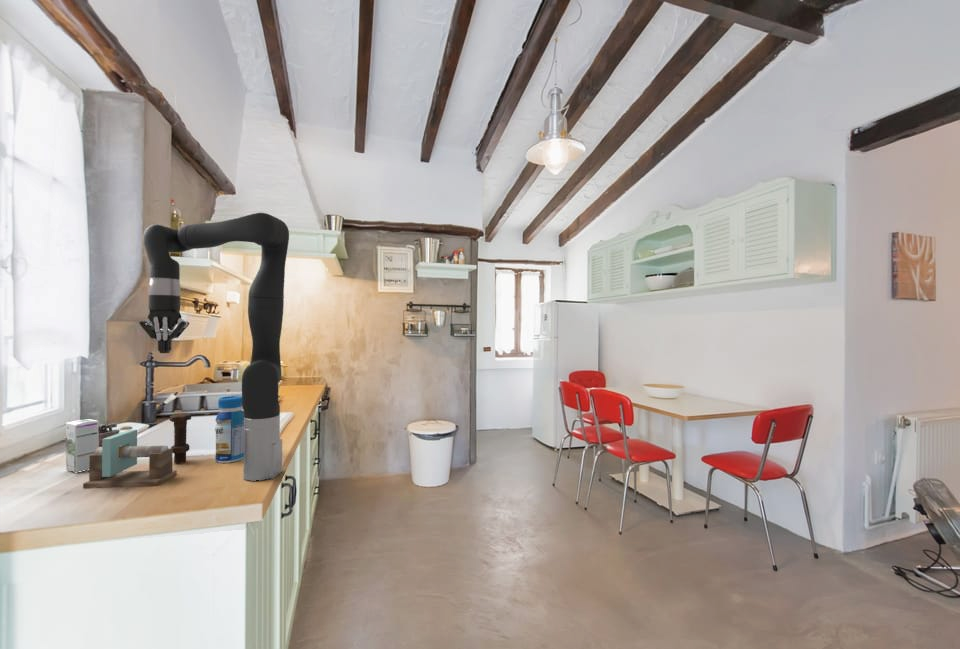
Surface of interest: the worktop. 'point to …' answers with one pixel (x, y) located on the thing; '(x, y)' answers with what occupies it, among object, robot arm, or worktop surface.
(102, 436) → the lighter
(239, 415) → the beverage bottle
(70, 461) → the syrup box
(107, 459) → the collar
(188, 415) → the bolt
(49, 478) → the worktop surface
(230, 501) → the worktop surface
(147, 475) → the pipe stand
